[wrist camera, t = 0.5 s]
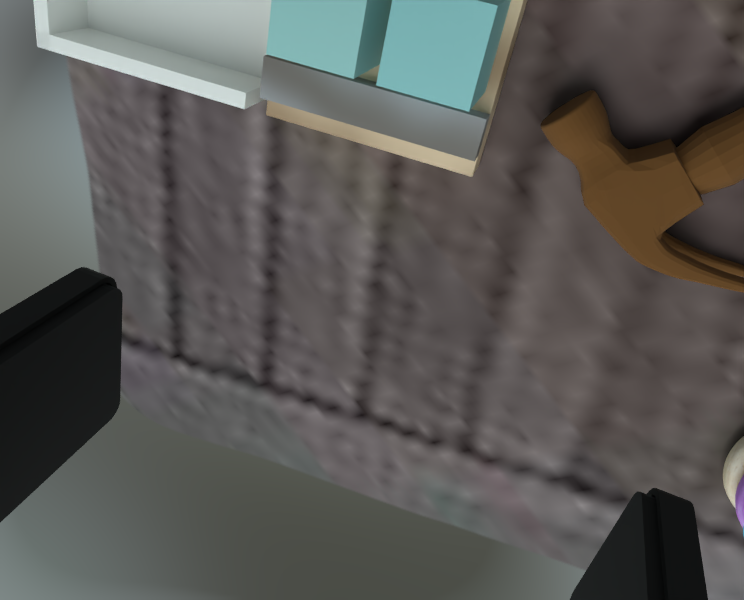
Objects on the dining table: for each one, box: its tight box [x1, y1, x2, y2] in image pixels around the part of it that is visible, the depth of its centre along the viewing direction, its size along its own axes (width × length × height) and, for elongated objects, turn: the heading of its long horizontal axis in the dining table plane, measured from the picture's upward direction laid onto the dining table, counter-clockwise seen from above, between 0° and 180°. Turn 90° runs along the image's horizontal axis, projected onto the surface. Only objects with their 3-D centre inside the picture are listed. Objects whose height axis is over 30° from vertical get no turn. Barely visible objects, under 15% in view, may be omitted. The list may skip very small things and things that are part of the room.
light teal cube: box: [266, 0, 392, 79], centre depth 28 cm, size 4×4×4 cm
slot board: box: [260, 0, 528, 177], centre depth 30 cm, size 12×11×3 cm
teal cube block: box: [376, 0, 511, 112], centre depth 27 cm, size 4×4×4 cm
